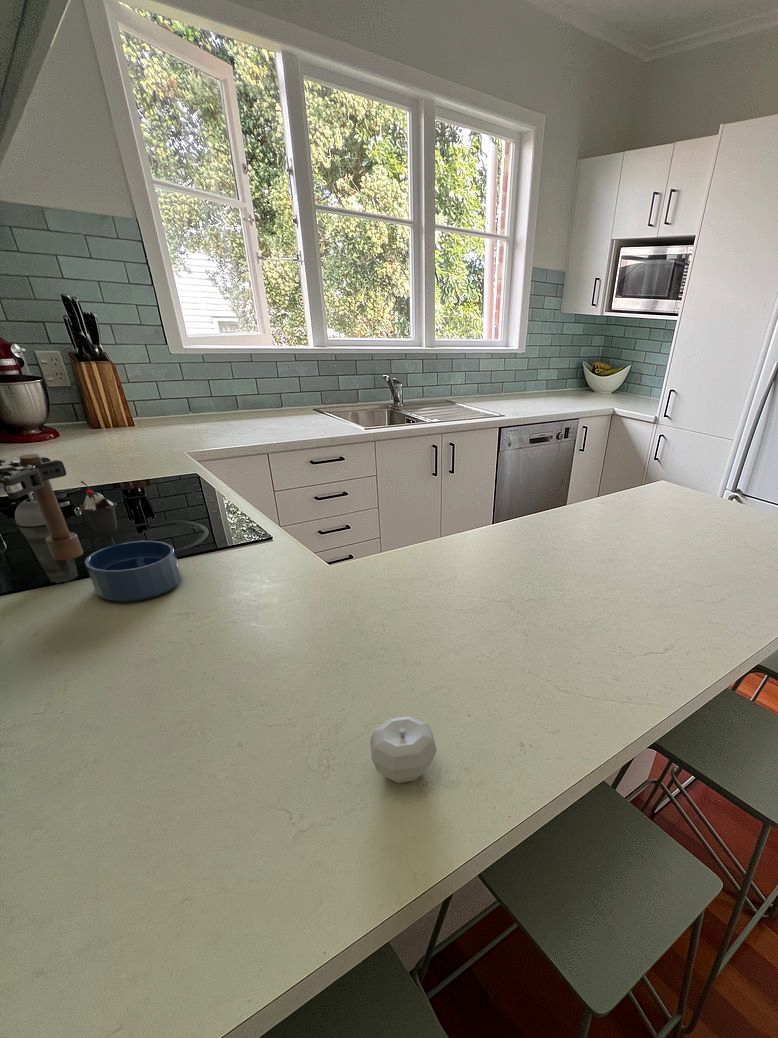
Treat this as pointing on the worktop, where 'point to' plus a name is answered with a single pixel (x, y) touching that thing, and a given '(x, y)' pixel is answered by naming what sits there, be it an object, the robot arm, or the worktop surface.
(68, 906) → the worktop surface
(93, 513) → the sundae
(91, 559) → the bowl
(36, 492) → the brown pestle
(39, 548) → the beverage cup
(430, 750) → the apple
